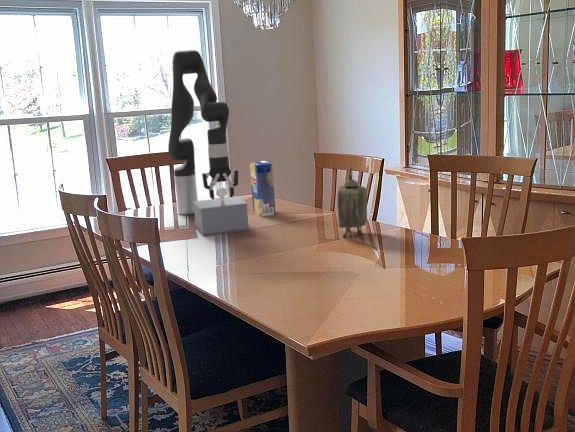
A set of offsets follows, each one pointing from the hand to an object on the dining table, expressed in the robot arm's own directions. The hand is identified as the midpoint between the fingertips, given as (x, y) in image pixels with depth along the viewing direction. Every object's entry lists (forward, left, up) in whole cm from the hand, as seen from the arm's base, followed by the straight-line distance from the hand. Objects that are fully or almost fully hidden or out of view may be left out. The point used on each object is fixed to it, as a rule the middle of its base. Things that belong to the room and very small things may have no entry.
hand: (222, 198), depth 251 cm
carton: (-6, 0, -14) cm, 15 cm away
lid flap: (-5, 0, -3) cm, 6 cm away
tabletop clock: (+29, +42, -14) cm, 53 cm away
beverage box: (-25, +23, -14) cm, 36 cm away
